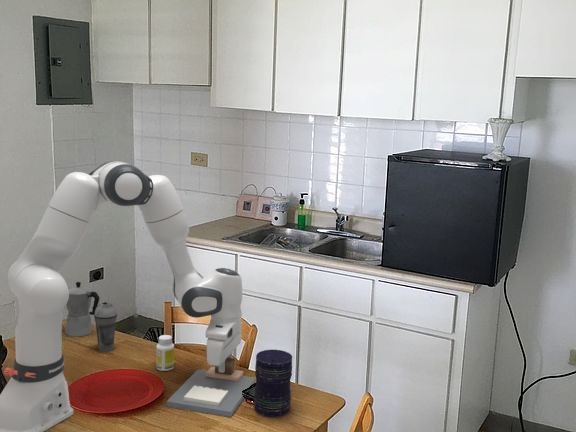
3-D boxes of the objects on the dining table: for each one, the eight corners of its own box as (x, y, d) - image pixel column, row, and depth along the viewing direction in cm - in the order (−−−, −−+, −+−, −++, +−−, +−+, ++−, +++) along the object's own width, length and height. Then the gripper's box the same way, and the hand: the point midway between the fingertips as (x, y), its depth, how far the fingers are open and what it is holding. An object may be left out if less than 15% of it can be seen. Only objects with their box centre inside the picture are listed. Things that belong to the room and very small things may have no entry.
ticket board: (230, 417, 168) (230, 407, 167) (166, 406, 172) (166, 397, 171) (255, 382, 189) (255, 374, 188) (197, 374, 193) (197, 365, 192)
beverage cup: (93, 345, 211) (93, 286, 207) (116, 344, 213) (116, 285, 210) (94, 354, 204) (93, 293, 200) (118, 352, 206) (117, 292, 203)
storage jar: (256, 398, 179) (258, 347, 176) (292, 402, 178) (294, 350, 175) (250, 416, 169) (252, 362, 166) (288, 419, 168) (290, 365, 165)
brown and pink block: (237, 381, 185) (238, 364, 184) (205, 376, 188) (205, 360, 187) (243, 374, 190) (243, 358, 189) (211, 369, 192) (211, 353, 192)
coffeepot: (54, 332, 220) (53, 282, 217) (73, 324, 229) (73, 275, 226) (89, 341, 214) (89, 289, 211) (108, 332, 223) (108, 282, 219)
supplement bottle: (176, 364, 199) (176, 334, 197) (171, 372, 193) (171, 341, 192) (159, 363, 199) (159, 333, 197) (153, 370, 194) (154, 339, 192)
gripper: (227, 311, 197) (226, 354, 199) (203, 333, 177) (201, 380, 180) (247, 314, 195) (245, 357, 198) (224, 336, 176) (223, 384, 178)
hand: (224, 368), depth 189 cm, fingers closed on brown and pink block, 3 cm apart
